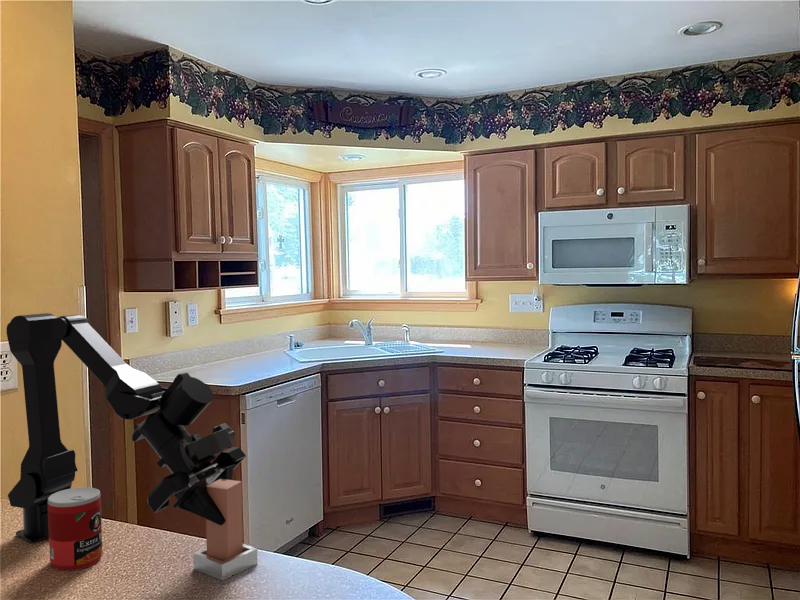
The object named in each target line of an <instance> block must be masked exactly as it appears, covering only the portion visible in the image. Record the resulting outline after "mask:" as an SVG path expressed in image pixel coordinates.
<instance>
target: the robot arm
mask: <svg viewBox="0 0 800 600" xmlns="http://www.w3.org/2000/svg"><path fill="white" fill-rule="evenodd" d="M6 338H7V342H8V343H7V344H8V345H9V346H8V347H9V352H10V353H11V354H12V355H13V356H14V358H15V359H16V360H17V361H18V362H19V364H20V365H21V369H22V381H23V382H22V383H23V392H24V393H23V394H24V403H25V413H26V415H25V416H26V423H27V434H28V449H26V453H25V455H24V456H23V459H22V461H21V462H20V476H19V477H20V479H19V481H17V483H16V484H15V485H14V486H13V488H12V489H11V490H10V491H9V492H8V494H7V498H8V501H9V505H10V507H13V508H14V507H15V508H19V509H20V508H21V509H22V519H23V529H21V530H17V531H16V532H15V536H17V537H19V538H21V539H23V540H26V541H28V542H29V543H36V542H39V541H42V540H45V539H46V540H47V539H49V530H48V497H49V496H50V495H52V494H54V493H56V492H59V491H62V490H66V489H71V488H72V485H73V482H74V481H75V479H76V473H77V472H79V471H78V467H77V464H76V452H75V450H74V449H68V448H67V446H66V445H65V444H64V443H63V442H62V440H61V427H60V419H59V417H60V415H59V408H58V406H59V405H58V398H57V397H58V394H57V385H56V374H55V360H56V358H57V356H58V354H59V352H60V350H61V348H62V345H63V344H62V342H63V343H64V344H65V345H66V346H67V347H68V348H69V349H70V350H71V352H73V354H74V355H75V356H76V357H77V358H78V359H79V360H80V361H81V362H82V363H83V364H84V365H85V366H86V367H87V369H88V370H89V371H90V372H91V373H92V374H93V375H94V376H95V377H96V379H98V381H99V382H100V383H101V384H102V385H103V387H104V391H105V392H104V393H105V399H106V400H107V402H108V403H109V405H110V407H111V408H112V409H113V410H114V413H115V414H116V415H117V416H118V417H119V418H120V419H122V420H133V419H137V418H139V417H140V418H141V417H144V416H147V417H145V418H144V420H143V421H141V422H138V423H135V424H134V425H133V432H132V435H131V440H132V442H134V443H135V442H138V441H141V440H143V439H145V440H146V442H147V443H148V444H149V446H150V447H151V448H152V449H153V450H154V452H155V453H156V454H157V455H158V457H159V458H160V459H159V460H158V462H157V465H158V467H159V468H160V469H162V468H164V467H167V469H168V470H169V471H170V473H171V474H169V475H167V476H165V477H163V478H161V480H160V481H159V483H157V485H156V486H155V487H154V488H153V489H152V490H151V491H150V492H149V494H148V495H147V505H148V506H149V507H150V509H151V511H152V512H153V513H154V514H157V513H159V512H161V511H163V510H165V509H167V507H169V504H170V499H171V497H173V496H174V497H175V500H176V502H175V503H174V504H173V506H172V508H173V509H175V510H176V509H181V510H183V511H186V512H189V513H191V514H194V515H196V516H199V517H202V518H203V519H205V520H206V519H207V520H210V521H212V522H214V523H216V524H218V525H223V524H224V523H225V522H226V520H225V518H224V516H223V515H222V513H221V511H220V510H219V508H218V507H217V505H216V504H215V503H214V501H213V500H212V498H211V497H210V495H209V494H208V492H207V485H209V484H211V483H213V482H215V481H217V480H219V479H227V480H233V474H234V470H235V469H236V468H237V467H238V466H239V465H240V463H242V461H244V459H245V458H247V457H246V456H247V455H246V454H245V452H244V451H243V449H241V448H240V447H237V446H234V443H233V441H234V440H235V438H236V437H235V435H236V433H235V431H234V430H233V429H232V428H231V427H230V426H229V425H228V424H227V423H225V422H224V423H222V424H221V423H220V424H219V425H217V426H215V427H213V428H212V433H211V434H208V435H207V436H204V437H201V435H200V434H198V433H193V434H190V433H189V431H188V430H187V429H186V427H185V426H190V425H192V424H193V423H194V422H195V420H197V419H198V417H199V416H200V415H201V414H202V413H203V412H204V410H205V409H206V408H208V406H209V405H210V404H211V403H212V402H213V400H214V393H213V391H212V388H211V387H210V385H209V384H207V383H205V382H204V381H202V380H201V379H199V378H197V377H192V376H191V375H190V374H189V372H187V371H186V372H182V373H178V374H177V375H176V376H175V377H174V379H173V381H172V383H171V384H170V385H169V386H168V387H165V386H162V385H161V384H160V383H159V382H158V381H157V380H155V379H154V378H153V377H151V376H150V375H148V374H147V373H146V372H144V371H141V370H138V369H137V368H133V367H132V366H130V365H129V364H127V362H126V361H124V359H123V358H122V357H121V356H120V355H119V354H118V353H117V352H116V351H115V350H114V349H113V348H112V346H111V345H109V344H108V342H107V341H106V340H104V338H103V337H102V336H101V335H100V334H99V333H98V332H97V331H96V330H95V329H94V327H92V326H91V324H90V321H89V319H88V318H87V317H86V316H85V315H81V314H70V315H61V316H58V317H57V316H55V314H53V313H49V312H44V313H34V314H21V315H20V314H19V315H16V316H14V317H12V319H10V321H9V323H7V325H6Z"/></svg>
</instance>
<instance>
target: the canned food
mask: <svg viewBox="0 0 800 600" xmlns="http://www.w3.org/2000/svg"><path fill="white" fill-rule="evenodd" d="M101 498H102V497H101V491H100V489H97V488H95V487H88V486H83V487H82V486H81V487H73V488H72V487H71V489H66V490H62V491H59V492H56V493H54V494H52V495H50V496H49V497H48V530H49V538H48V545H49V547H48V548H49V551H48V553H49V562H50V564H51V566H52V568H53V569H55V570H58V571H75V570H81V569H82V570H83V569H84V568H85V569H86V568H88V567H91V566H93V565H94V564H96V563H98V562H99V561H100V559H101V558H102V554H103V530H102V501H101V500H102V499H101Z"/></svg>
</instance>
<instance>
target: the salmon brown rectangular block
mask: <svg viewBox="0 0 800 600" xmlns="http://www.w3.org/2000/svg"><path fill="white" fill-rule="evenodd" d="M242 484H243V483H242V481H241V480H233V479H232V480H227V479H219V480H217V481H215V482H213V483H211V484H206V486H207V492H208V494H209V495H210V497H211V498H212V500H213V501H214V503H215V504H216V505H217V507H218V508H219V510H220V511H221V513H222V515H223V516H224V518H225V520H226V522H225V523H224V524H223V525H218V524H216V523H214V522H212V521H210V520H207V519H205V525H206V526H205V528H206V529H205V530H206V532H205V533H206V536H205V537H206V539H205V540H206V548H207V556H210V557H212V558H215V559H217V560H220V561H222V562H223V561H226V560H228V559H230V558H232V557H234V556H237V555H239V554H241V553H243V544H244V538H243V537H244V535H243V534H244V533H243V532H244V531H243V526H244V525H243V485H242Z"/></svg>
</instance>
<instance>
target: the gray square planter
mask: <svg viewBox="0 0 800 600" xmlns="http://www.w3.org/2000/svg"><path fill="white" fill-rule="evenodd" d="M192 554H193V556H192V557H193V569H194V570H195V571H199V572H201V573H202V574H205V575H208V576H210V577H213V578H215V579H217V580H219V579H220V581H221V580H223V581H224V579H225V580H227V579H229V578H232V577H233V576H232V575H234V576H235V574H236V575H237V574H240V573H241V572H244V571H246V570H248V569H251V568H252V567H254V566H256V565H258V548H257V547H254V546H251V545H248V544H245V543H243V553H241V554H239V555H237V556H234V557H232V558H230V559H228V560H226V561H223V562H222V561H220V560H217V559H215V558H212V557H210V556H207V547H204V548H203V549H201V550H198V551H195V552H193V553H192ZM228 577H229V578H228ZM226 578H227V579H226Z"/></svg>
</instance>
